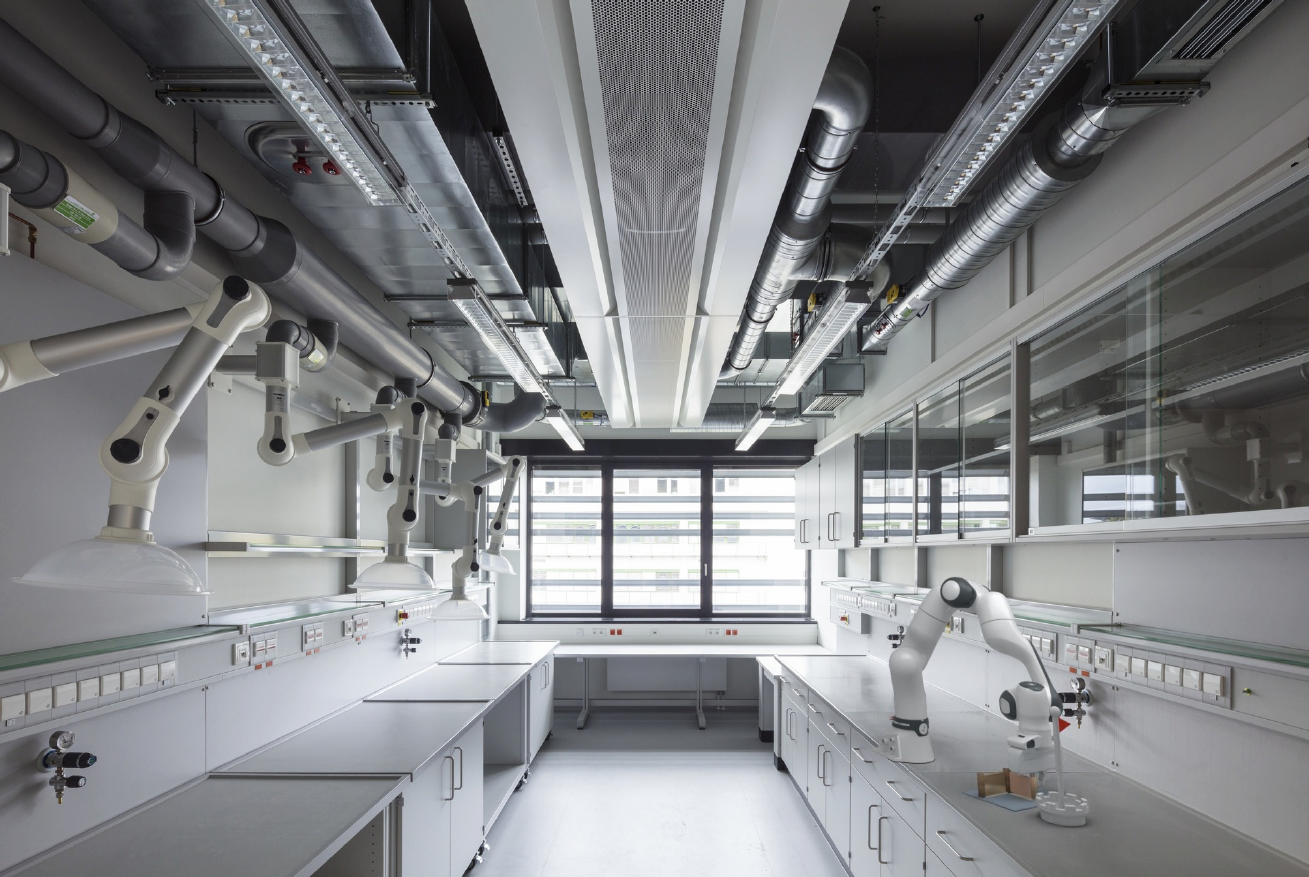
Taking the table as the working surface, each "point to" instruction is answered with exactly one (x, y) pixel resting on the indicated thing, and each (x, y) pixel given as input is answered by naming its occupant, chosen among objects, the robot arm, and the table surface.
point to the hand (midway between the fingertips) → (1038, 786)
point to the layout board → (1009, 800)
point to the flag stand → (1061, 788)
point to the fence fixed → (993, 783)
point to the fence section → (1023, 785)
